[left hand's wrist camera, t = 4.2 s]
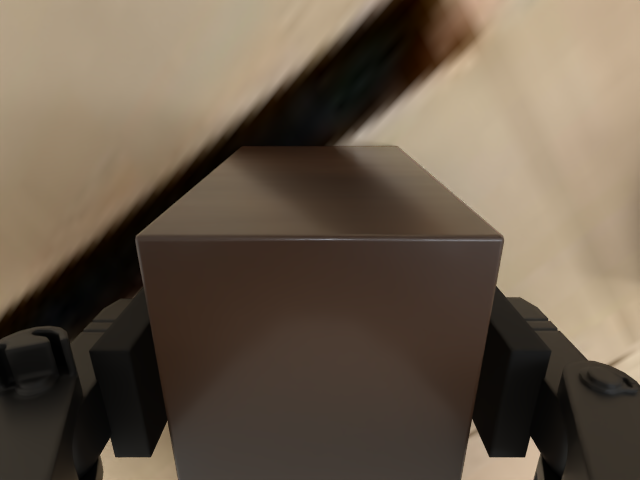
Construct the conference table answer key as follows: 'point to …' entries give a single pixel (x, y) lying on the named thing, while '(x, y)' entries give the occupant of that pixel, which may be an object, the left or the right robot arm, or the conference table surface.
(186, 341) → the walnut bar
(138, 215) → the conference table surface
